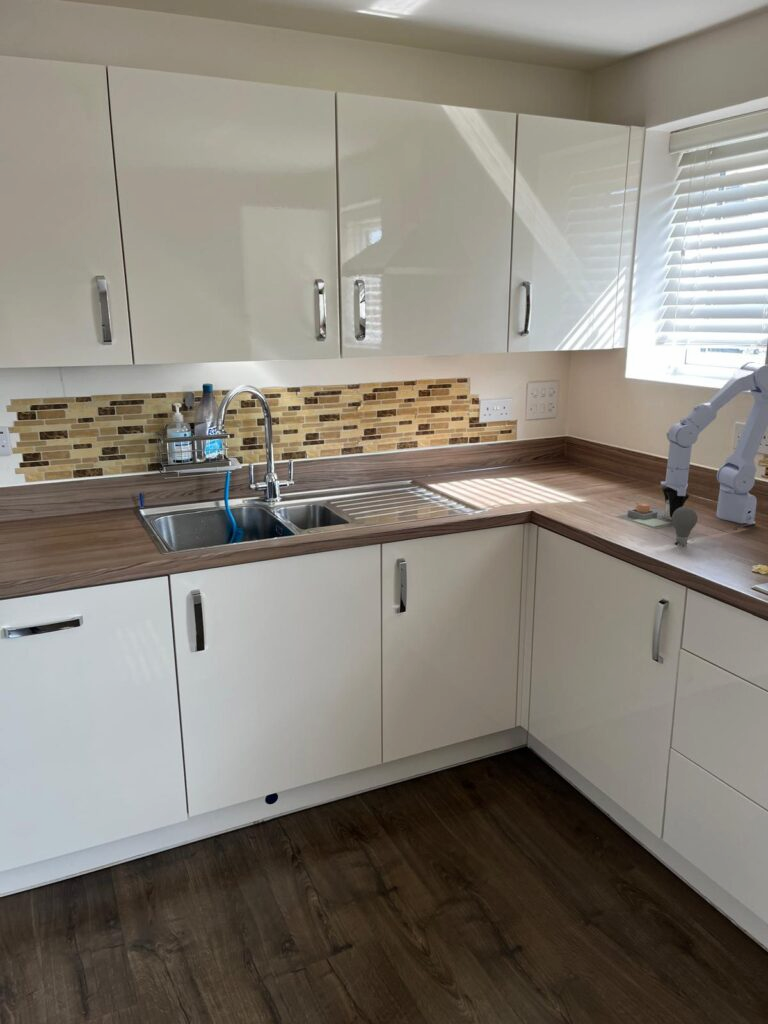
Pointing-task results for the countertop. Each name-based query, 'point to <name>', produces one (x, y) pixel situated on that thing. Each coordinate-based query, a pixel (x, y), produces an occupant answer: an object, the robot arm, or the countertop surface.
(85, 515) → the countertop surface
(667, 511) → the cartridge
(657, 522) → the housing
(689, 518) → the light bulb
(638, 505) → the orange round piece
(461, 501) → the countertop surface
